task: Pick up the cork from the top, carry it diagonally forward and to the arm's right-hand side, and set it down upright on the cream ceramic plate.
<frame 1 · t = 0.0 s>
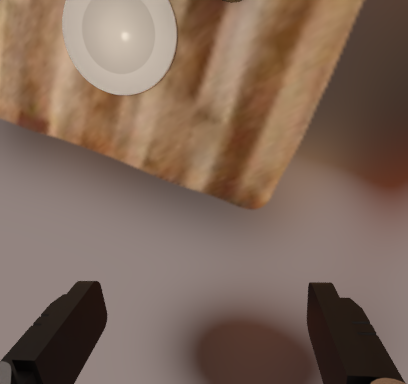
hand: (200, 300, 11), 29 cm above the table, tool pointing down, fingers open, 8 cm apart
cream plate: (121, 34, 35), on the table
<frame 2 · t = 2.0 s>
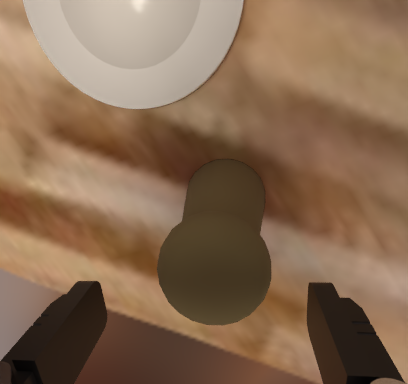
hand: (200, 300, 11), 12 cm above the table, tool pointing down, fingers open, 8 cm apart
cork: (225, 196, 22), on the table
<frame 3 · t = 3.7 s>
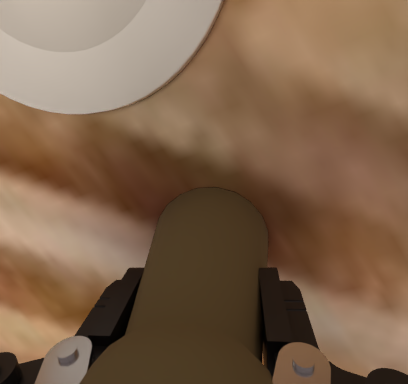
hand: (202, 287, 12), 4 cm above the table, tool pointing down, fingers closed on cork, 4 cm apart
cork: (211, 238, 15), on the table, touching gripper
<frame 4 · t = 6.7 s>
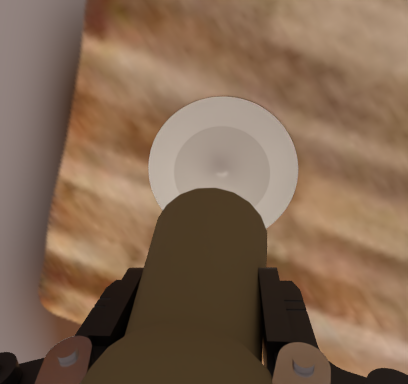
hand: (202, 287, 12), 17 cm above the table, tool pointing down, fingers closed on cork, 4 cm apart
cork: (210, 238, 15), point 13 cm above the table, touching gripper
cream plate: (221, 172, 28), on the table
when the fingers open (6 cm above the table, at t = 9.6 s): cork stays where it is, resting on cream plate.
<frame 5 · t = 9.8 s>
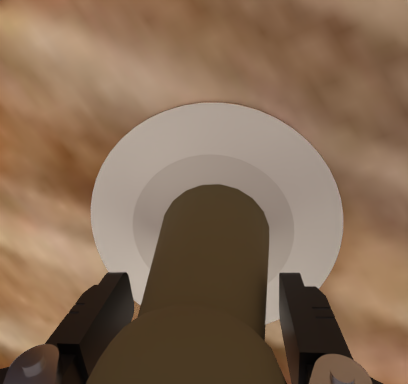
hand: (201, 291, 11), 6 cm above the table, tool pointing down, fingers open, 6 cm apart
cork: (214, 233, 16), point 1 cm above the table, touching cream plate
cream plate: (212, 225, 17), on the table
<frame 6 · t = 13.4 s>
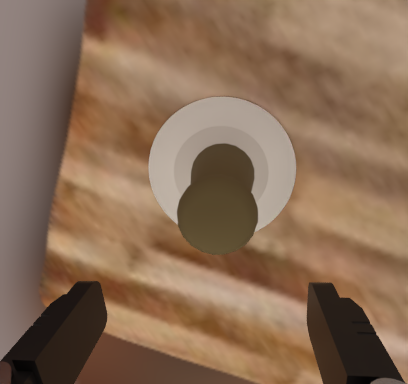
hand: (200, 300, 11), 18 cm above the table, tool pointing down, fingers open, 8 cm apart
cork: (222, 174, 27), point 1 cm above the table, touching cream plate
cream plate: (220, 171, 28), on the table
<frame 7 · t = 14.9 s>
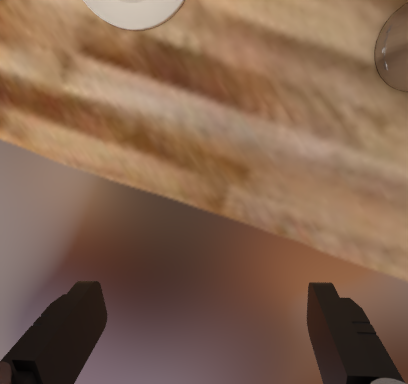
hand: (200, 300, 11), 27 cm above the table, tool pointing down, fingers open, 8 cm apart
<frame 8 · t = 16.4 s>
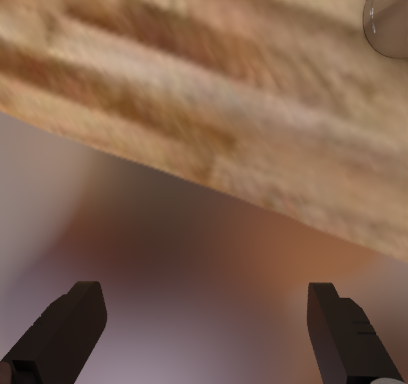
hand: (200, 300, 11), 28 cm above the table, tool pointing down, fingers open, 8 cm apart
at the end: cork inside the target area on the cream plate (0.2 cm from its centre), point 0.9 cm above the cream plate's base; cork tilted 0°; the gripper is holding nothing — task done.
